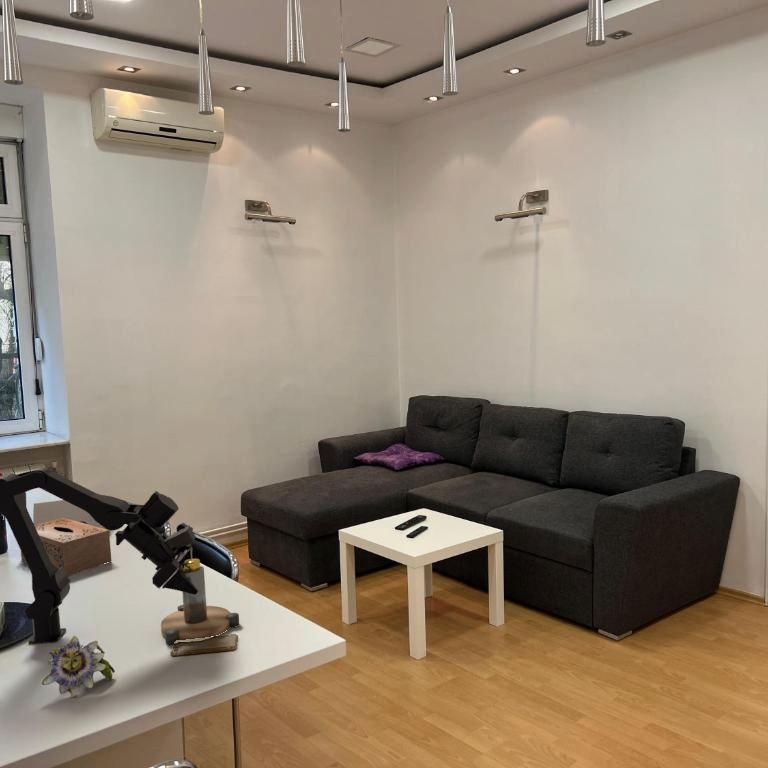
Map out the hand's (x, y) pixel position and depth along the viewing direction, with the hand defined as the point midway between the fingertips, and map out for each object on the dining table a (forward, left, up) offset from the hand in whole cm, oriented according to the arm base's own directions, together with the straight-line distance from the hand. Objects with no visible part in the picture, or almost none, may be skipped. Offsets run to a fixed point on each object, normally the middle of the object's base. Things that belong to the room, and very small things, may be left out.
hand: (200, 585), depth 180 cm
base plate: (0, +1, -10) cm, 10 cm away
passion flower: (-25, +20, -10) cm, 34 cm away
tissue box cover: (+56, +50, -11) cm, 76 cm away
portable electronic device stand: (+81, +56, -10) cm, 99 cm away
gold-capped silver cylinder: (0, +2, -8) cm, 8 cm away
